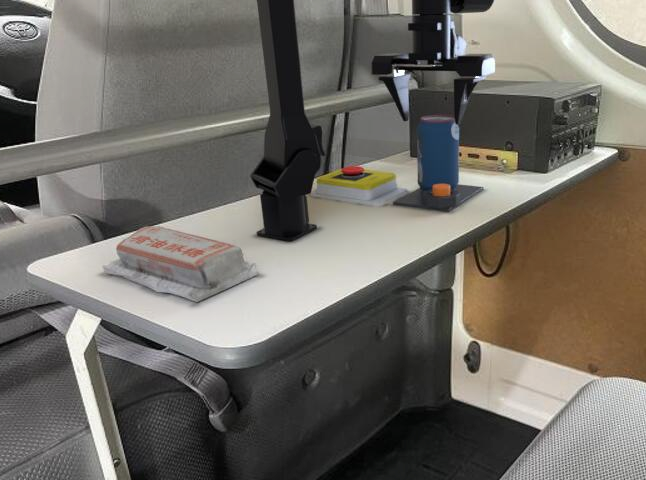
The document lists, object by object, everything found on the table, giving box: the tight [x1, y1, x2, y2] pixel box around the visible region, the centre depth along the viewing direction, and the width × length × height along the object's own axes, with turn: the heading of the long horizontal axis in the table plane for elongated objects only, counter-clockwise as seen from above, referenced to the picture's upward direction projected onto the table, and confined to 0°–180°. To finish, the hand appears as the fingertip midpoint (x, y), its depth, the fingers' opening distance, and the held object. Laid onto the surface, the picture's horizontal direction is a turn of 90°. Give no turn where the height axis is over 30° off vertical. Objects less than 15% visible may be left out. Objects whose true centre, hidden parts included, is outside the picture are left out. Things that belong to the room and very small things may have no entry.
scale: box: [392, 183, 485, 213], centre depth 104 cm, size 14×10×2 cm
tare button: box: [433, 184, 450, 196], centre depth 99 cm, size 3×3×2 cm
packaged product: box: [101, 225, 258, 303], centre depth 77 cm, size 18×5×10 cm
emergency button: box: [310, 165, 409, 207], centre depth 108 cm, size 9×4×15 cm
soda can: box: [416, 114, 460, 192], centre depth 105 cm, size 7×7×12 cm
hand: (431, 122), depth 100 cm, fingers open, 9 cm apart
